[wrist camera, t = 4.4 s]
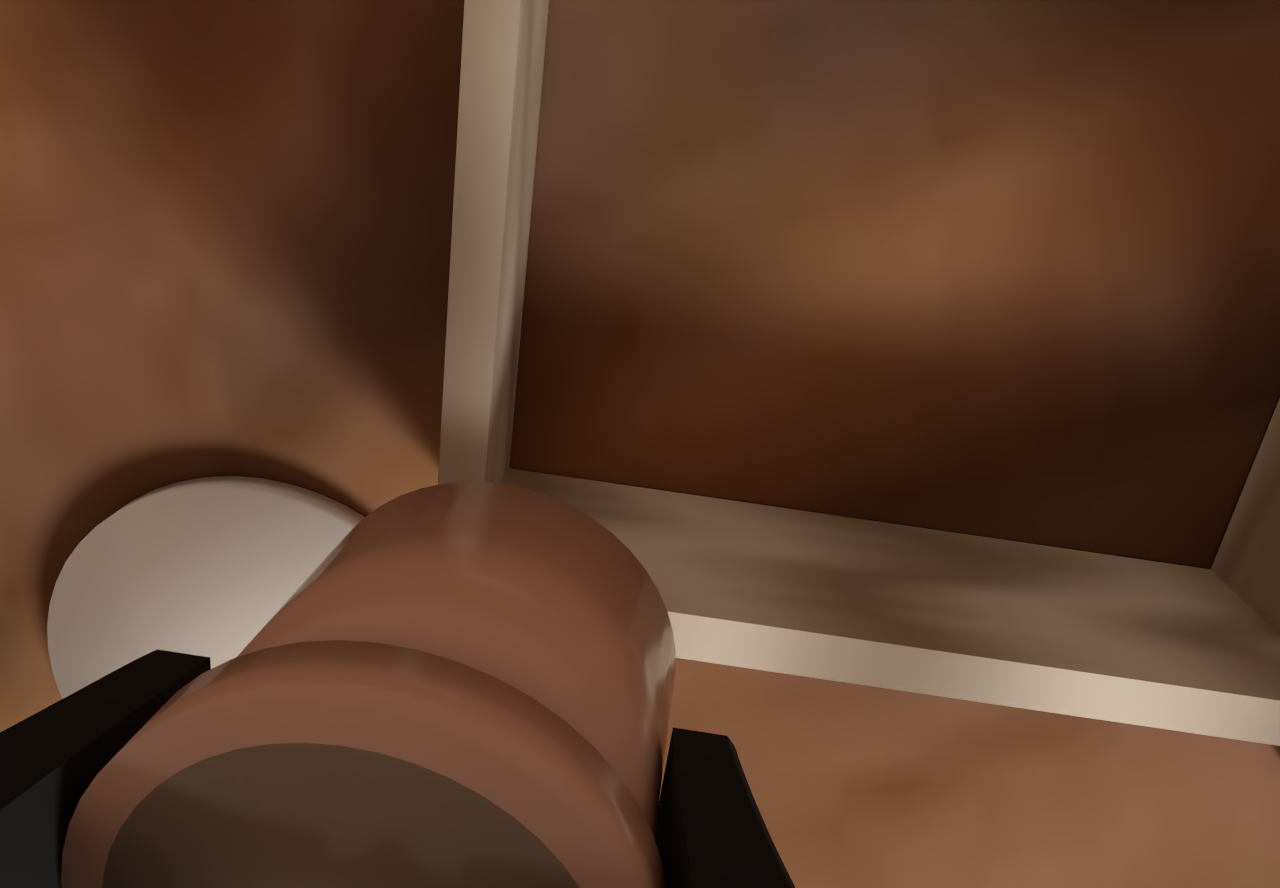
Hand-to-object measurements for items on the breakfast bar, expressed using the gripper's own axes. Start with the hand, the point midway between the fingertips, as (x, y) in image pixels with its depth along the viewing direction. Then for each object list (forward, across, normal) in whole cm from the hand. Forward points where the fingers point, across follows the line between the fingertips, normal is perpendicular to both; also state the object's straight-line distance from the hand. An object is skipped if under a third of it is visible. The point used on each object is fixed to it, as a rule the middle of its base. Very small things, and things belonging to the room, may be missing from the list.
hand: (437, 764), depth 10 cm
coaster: (+8, +6, +6) cm, 12 cm away
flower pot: (+2, 0, 0) cm, 2 cm away
